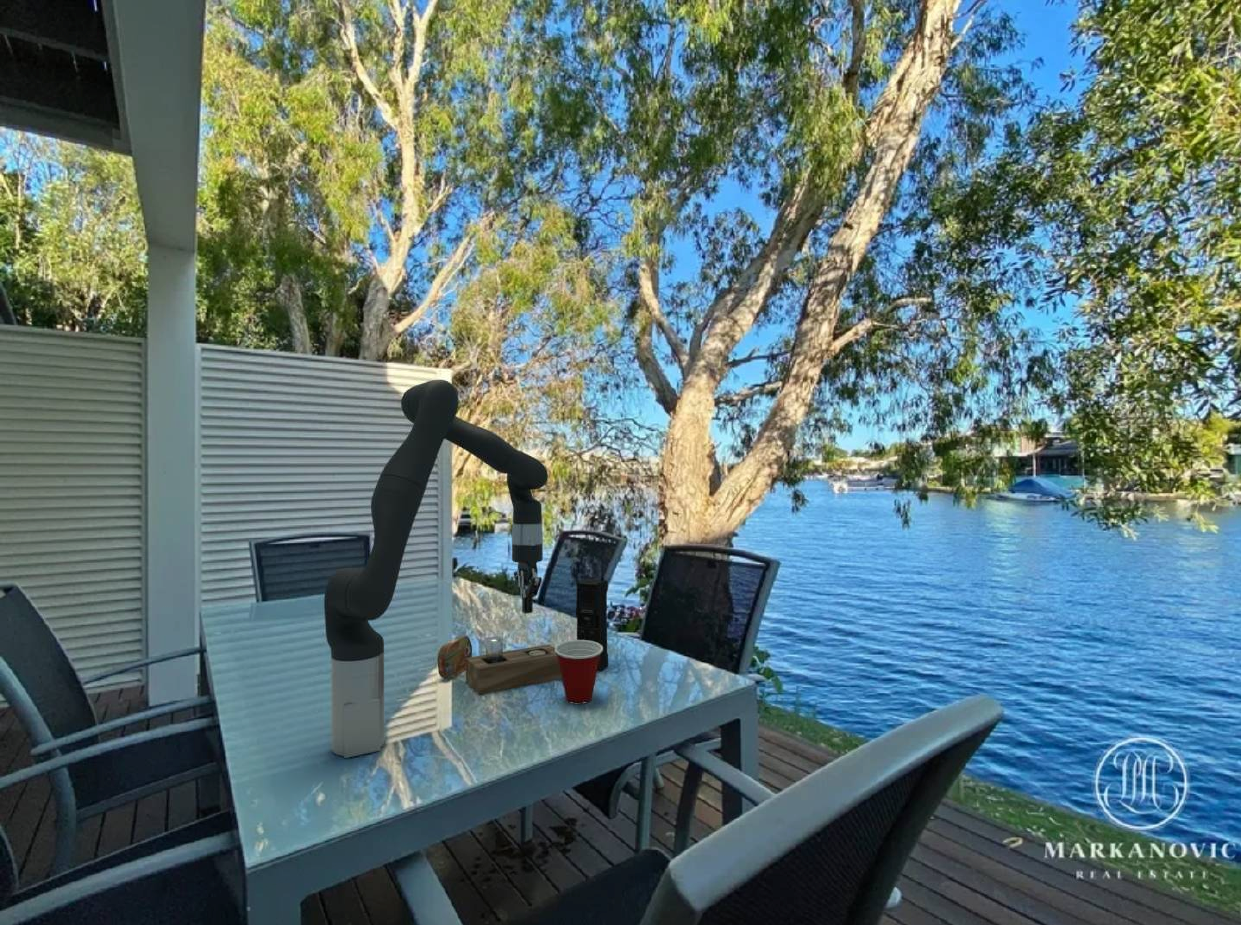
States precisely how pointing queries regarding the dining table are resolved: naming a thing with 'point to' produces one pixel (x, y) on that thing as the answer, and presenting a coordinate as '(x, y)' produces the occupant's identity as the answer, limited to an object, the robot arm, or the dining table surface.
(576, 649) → the plastic cup
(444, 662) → the tin
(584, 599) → the portable radio
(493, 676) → the collar block
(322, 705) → the dining table surface
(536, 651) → the birch peg
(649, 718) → the dining table surface
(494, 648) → the steel peg
